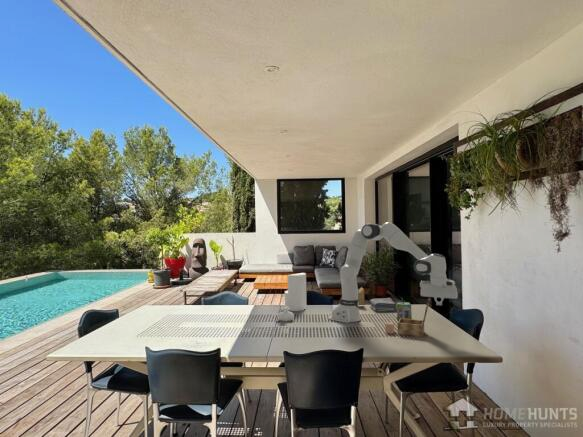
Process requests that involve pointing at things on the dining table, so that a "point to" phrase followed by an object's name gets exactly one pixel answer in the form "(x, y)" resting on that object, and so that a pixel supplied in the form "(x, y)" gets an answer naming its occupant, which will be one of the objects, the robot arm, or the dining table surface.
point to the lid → (426, 311)
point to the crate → (410, 327)
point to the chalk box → (403, 310)
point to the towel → (383, 304)
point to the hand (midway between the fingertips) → (439, 305)
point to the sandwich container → (361, 296)
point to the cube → (389, 327)
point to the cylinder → (296, 292)
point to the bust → (285, 314)
